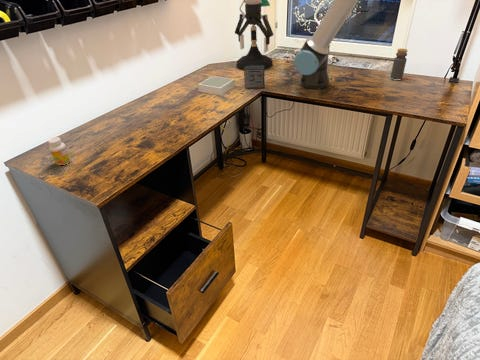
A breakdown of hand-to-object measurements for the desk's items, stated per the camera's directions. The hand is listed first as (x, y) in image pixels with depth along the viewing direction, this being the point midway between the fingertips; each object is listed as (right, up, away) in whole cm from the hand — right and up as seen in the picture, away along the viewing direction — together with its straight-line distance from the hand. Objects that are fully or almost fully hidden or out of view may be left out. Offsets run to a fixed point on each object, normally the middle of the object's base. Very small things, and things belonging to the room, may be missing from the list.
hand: (253, 50), depth 167 cm
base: (-19, -17, +11) cm, 28 cm away
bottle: (+76, -12, +10) cm, 78 cm away
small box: (+1, -15, +11) cm, 19 cm away
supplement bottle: (-73, -59, -43) cm, 103 cm away
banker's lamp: (+2, +6, +41) cm, 42 cm away
